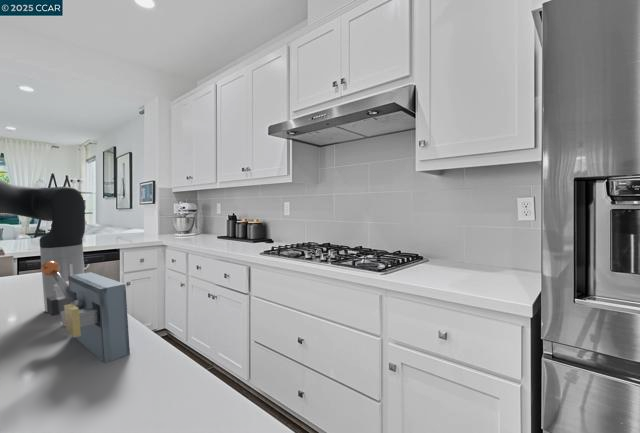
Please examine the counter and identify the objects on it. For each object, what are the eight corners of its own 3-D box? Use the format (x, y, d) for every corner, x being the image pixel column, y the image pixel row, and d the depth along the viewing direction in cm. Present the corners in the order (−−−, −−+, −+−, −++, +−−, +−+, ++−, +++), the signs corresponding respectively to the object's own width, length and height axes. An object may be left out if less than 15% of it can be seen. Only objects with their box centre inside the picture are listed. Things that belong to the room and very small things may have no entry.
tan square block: (66, 331, 57) (64, 305, 57) (92, 324, 60) (91, 299, 60) (73, 337, 54) (71, 310, 54) (101, 329, 57) (99, 303, 57)
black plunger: (47, 312, 66) (46, 297, 66) (71, 306, 69) (70, 292, 69) (52, 316, 64) (51, 300, 63) (77, 310, 67) (76, 295, 67)
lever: (69, 310, 63) (36, 265, 59) (84, 302, 64) (52, 257, 61) (73, 313, 61) (39, 267, 57) (88, 304, 63) (55, 258, 59)
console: (65, 338, 69) (61, 276, 69) (94, 330, 73) (90, 272, 73) (96, 365, 56) (91, 290, 56) (129, 354, 60) (125, 284, 60)
